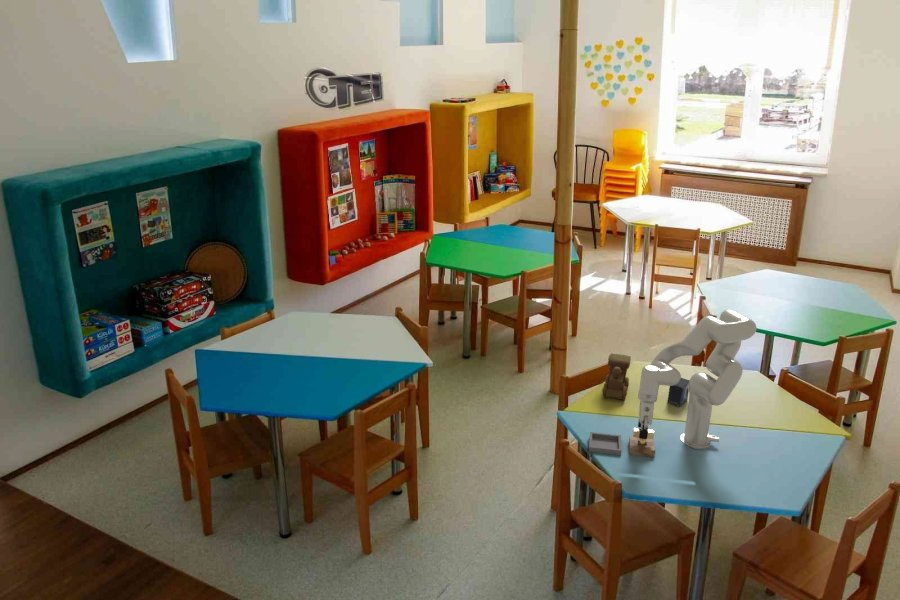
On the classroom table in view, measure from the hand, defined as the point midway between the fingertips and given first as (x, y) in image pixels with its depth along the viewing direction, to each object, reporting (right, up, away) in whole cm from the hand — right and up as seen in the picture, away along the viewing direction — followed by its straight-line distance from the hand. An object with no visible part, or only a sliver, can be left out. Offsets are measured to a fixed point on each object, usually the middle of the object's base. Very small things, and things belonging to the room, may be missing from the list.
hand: (642, 432), depth 321 cm
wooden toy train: (0, +10, +55) cm, 55 cm away
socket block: (0, -8, +3) cm, 9 cm away
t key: (0, -7, +3) cm, 8 cm away
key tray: (-14, -7, +6) cm, 17 cm away
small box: (+28, +6, +48) cm, 56 cm away
